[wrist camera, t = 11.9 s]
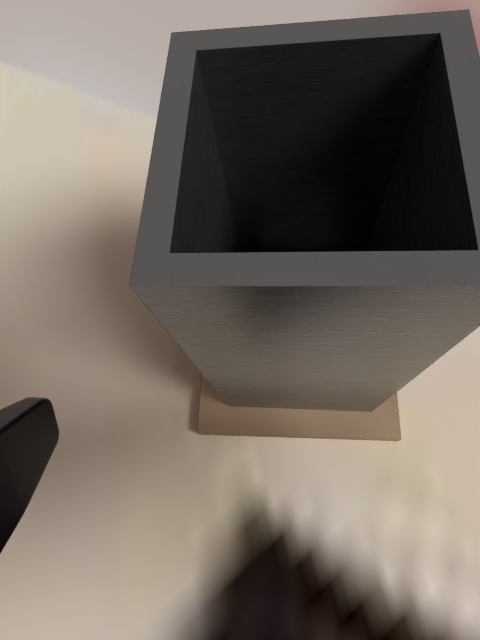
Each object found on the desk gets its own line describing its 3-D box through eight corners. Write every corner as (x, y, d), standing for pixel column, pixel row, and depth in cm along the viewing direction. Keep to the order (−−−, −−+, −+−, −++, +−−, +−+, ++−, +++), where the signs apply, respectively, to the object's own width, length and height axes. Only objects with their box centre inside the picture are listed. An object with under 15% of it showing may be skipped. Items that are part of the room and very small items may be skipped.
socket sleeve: (371, 412, 17) (529, 286, 6) (229, 406, 18) (129, 286, 7) (364, 282, 19) (469, 9, 8) (237, 282, 20) (171, 32, 9)
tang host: (394, 442, 18) (424, 432, 14) (202, 435, 19) (180, 425, 15) (378, 269, 21) (400, 220, 17) (214, 271, 22) (198, 226, 18)
